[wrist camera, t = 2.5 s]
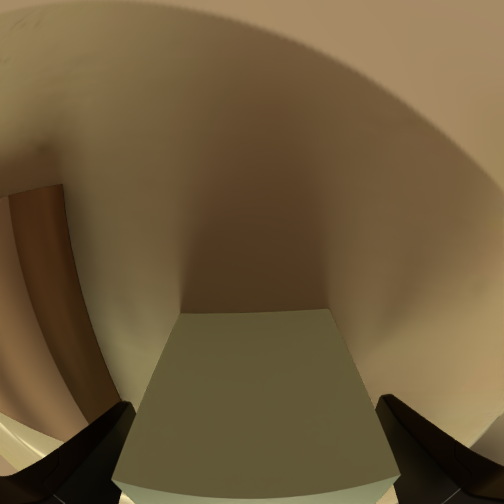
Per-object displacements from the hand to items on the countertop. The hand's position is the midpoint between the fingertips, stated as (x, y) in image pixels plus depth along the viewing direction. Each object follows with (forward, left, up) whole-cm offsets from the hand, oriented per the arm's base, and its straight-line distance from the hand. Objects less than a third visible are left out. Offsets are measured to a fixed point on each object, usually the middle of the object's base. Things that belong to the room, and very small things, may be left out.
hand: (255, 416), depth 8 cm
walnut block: (-13, +2, -3) cm, 13 cm away
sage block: (0, 0, -3) cm, 3 cm away
